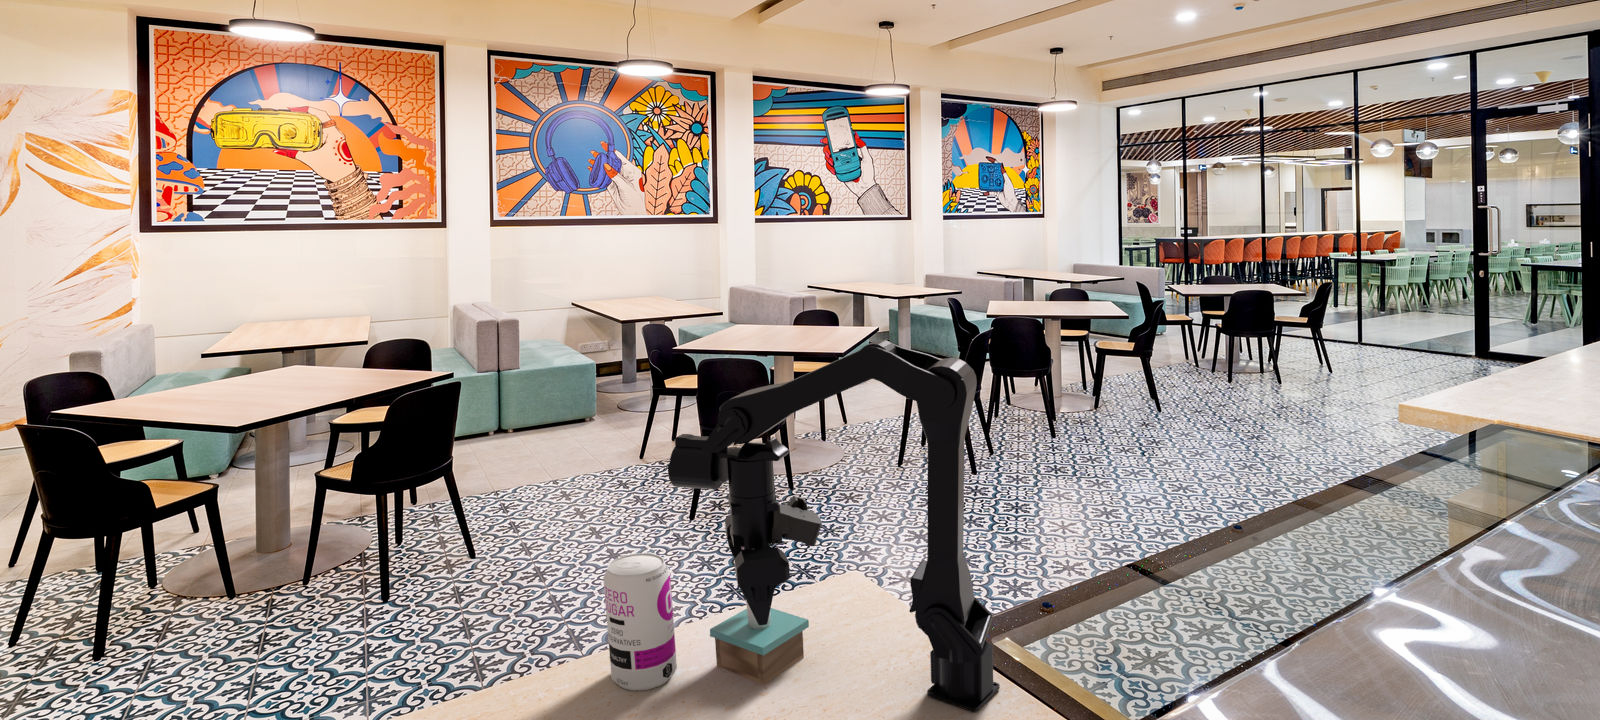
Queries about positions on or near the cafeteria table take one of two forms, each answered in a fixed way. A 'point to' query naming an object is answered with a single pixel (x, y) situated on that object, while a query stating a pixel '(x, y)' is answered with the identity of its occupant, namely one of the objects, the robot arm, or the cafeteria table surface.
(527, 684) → the cafeteria table surface
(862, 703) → the cafeteria table surface
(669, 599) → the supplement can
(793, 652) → the box
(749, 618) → the lid
